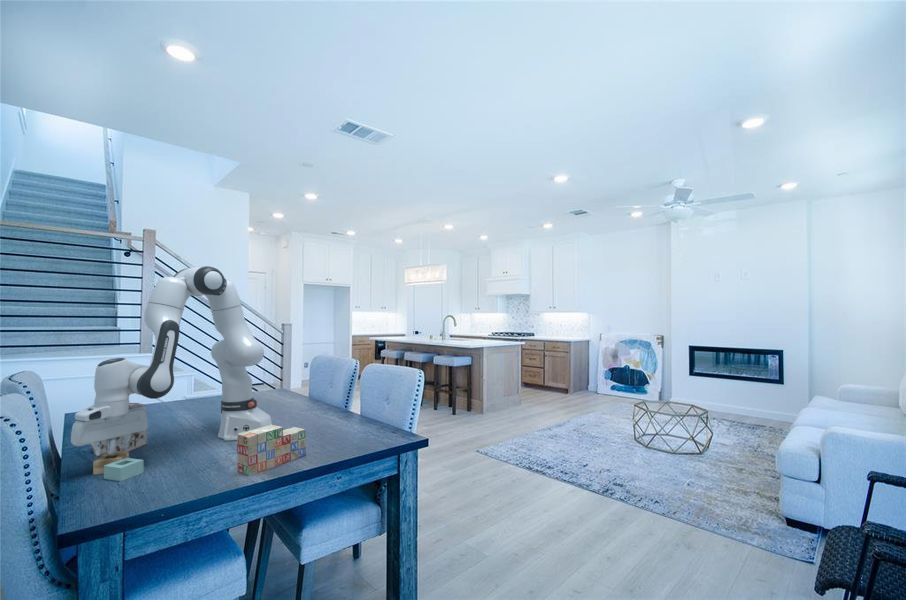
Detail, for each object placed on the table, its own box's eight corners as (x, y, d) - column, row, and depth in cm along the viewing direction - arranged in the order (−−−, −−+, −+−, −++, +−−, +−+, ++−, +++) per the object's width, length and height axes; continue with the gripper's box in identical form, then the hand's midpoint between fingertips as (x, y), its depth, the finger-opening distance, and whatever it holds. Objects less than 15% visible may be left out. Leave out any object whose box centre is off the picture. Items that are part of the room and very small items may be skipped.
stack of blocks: (295, 452, 153) (294, 418, 154) (306, 455, 150) (306, 420, 150) (236, 472, 136) (236, 433, 136) (248, 476, 132) (248, 436, 132)
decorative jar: (119, 443, 164) (119, 396, 165) (148, 444, 164) (148, 397, 164) (91, 454, 152) (91, 404, 153) (122, 455, 152) (122, 404, 152)
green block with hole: (143, 472, 135) (143, 459, 135) (120, 481, 129) (120, 468, 129) (127, 470, 137) (127, 457, 138) (103, 478, 131) (103, 465, 131)
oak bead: (128, 463, 143) (128, 451, 143) (119, 471, 136) (119, 459, 136) (103, 466, 141) (103, 454, 141) (93, 474, 134) (93, 461, 134)
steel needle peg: (118, 467, 140) (117, 427, 140) (113, 470, 138) (112, 429, 138) (111, 467, 140) (110, 427, 140) (105, 470, 138) (105, 429, 138)
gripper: (141, 401, 150) (141, 441, 149) (68, 415, 131) (68, 460, 131) (151, 403, 147) (152, 443, 147) (78, 417, 129) (78, 463, 128)
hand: (111, 451), depth 139 cm, fingers open, 5 cm apart
